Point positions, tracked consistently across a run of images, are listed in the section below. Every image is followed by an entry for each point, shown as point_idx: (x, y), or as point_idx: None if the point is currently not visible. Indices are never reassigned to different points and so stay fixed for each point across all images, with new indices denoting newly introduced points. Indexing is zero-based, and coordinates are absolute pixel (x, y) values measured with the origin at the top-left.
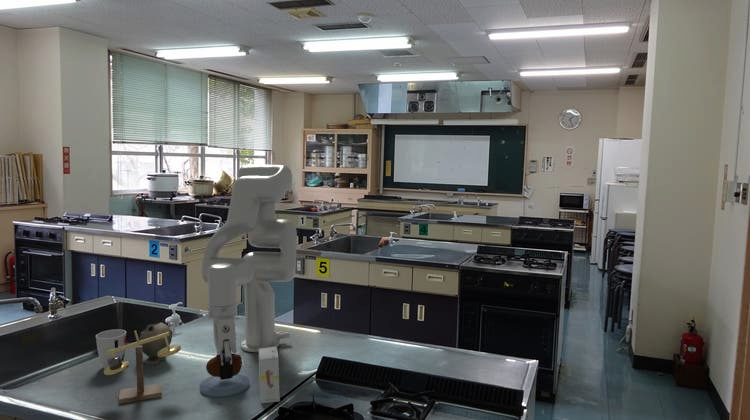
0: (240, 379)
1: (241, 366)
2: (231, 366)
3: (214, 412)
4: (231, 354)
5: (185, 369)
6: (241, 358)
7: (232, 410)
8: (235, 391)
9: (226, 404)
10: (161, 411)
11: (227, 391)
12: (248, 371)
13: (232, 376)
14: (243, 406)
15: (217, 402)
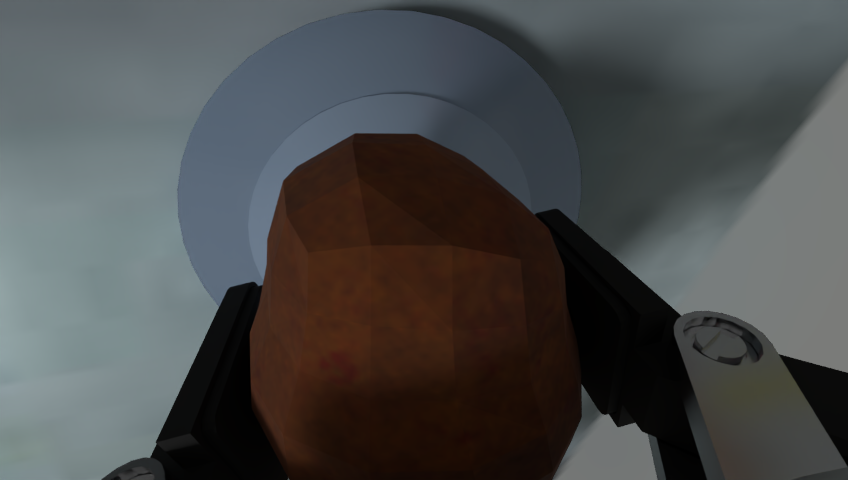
0: (360, 112)
1: (417, 136)
2: (633, 290)
3: (718, 234)
4: (478, 427)
5: (96, 472)
6: (376, 179)
7: (763, 137)
8: (575, 141)
9: (666, 182)
10: (583, 420)
11: (556, 201)
12: (3, 19)
13: (561, 213)
14: (762, 62)
15: (613, 236)
